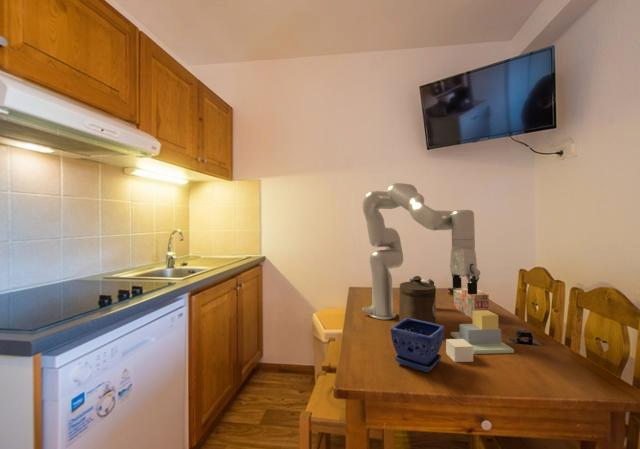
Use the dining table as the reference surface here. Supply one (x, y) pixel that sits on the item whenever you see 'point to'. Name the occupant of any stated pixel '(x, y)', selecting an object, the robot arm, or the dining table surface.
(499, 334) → the slate-blue long brick
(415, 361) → the flower pot
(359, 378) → the dining table surface
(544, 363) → the dining table surface
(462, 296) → the stack of blocks
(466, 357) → the cream brick
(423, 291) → the wooden container
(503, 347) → the green plate
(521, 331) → the black piece
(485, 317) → the mustard brick
